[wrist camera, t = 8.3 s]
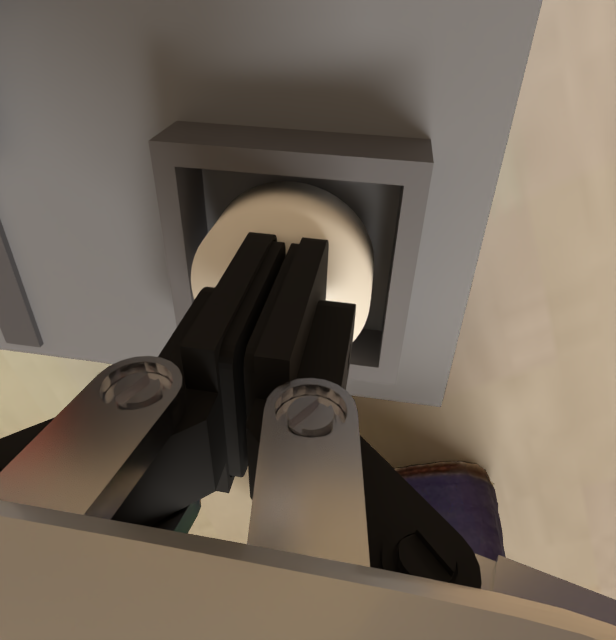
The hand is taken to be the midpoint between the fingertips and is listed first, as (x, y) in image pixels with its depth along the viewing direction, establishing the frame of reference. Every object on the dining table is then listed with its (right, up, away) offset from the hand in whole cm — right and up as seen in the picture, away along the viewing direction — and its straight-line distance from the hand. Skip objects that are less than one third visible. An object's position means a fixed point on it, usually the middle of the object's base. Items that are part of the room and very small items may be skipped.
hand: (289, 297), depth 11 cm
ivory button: (0, +1, +1) cm, 2 cm away
